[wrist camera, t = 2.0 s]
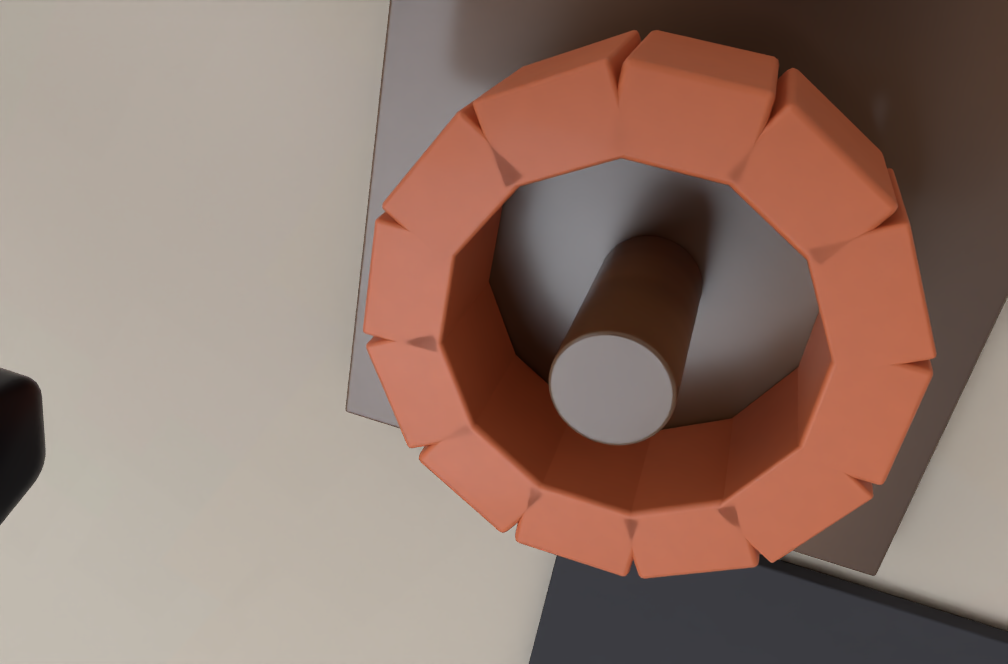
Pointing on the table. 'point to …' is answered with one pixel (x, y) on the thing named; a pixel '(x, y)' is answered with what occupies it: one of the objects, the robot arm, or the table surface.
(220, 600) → the table surface
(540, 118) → the terracotta ring
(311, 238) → the table surface
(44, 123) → the table surface
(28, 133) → the table surface
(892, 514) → the stand
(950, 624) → the felt mat
